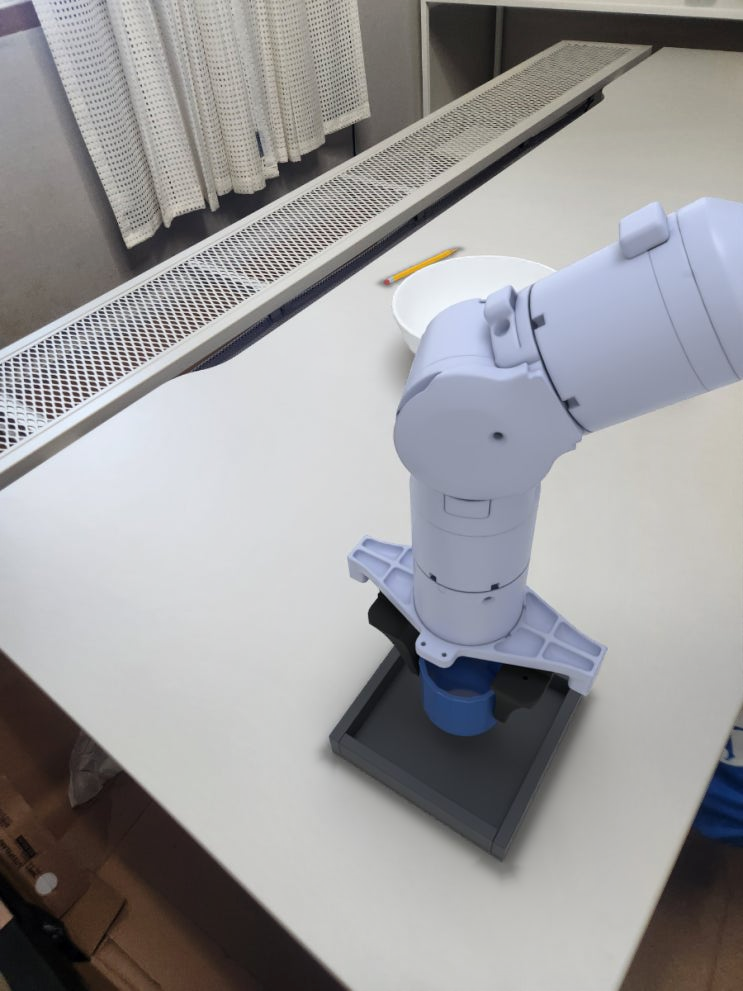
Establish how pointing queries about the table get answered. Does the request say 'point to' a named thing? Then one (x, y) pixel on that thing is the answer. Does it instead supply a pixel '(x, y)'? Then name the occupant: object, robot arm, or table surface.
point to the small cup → (459, 694)
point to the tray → (454, 754)
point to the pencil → (418, 266)
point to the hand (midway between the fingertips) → (462, 684)
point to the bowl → (457, 288)
